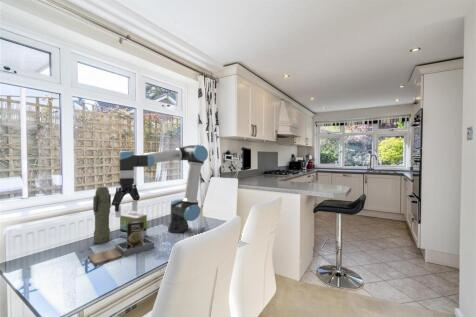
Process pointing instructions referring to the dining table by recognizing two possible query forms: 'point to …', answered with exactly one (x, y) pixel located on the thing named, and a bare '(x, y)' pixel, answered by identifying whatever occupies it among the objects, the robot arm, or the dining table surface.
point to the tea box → (131, 218)
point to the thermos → (101, 214)
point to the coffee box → (135, 233)
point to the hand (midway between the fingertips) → (126, 214)
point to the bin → (120, 247)
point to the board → (104, 256)
